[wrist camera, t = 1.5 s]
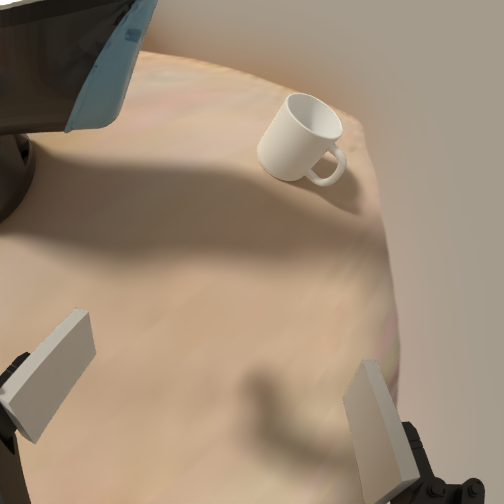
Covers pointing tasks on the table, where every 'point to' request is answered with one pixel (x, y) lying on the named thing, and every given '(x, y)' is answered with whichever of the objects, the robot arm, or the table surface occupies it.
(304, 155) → the cup
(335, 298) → the table surface
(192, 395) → the table surface
